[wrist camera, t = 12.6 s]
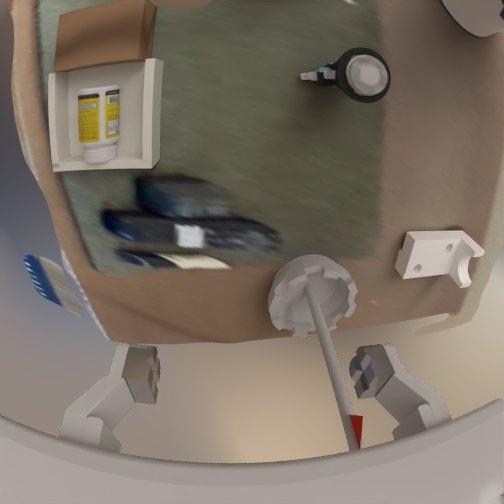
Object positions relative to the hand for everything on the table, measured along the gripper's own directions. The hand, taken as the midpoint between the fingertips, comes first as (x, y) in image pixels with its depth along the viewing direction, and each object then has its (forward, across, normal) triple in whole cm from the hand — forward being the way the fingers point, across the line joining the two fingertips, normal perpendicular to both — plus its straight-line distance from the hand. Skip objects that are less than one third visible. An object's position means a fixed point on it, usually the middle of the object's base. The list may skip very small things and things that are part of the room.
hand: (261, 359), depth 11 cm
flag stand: (+27, -12, +18) cm, 35 cm away
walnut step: (+27, +16, -16) cm, 35 cm away
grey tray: (+27, +16, -6) cm, 32 cm away
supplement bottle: (+24, +16, -10) cm, 30 cm away
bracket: (+28, -33, +10) cm, 44 cm away
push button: (+27, -9, -12) cm, 31 cm away
